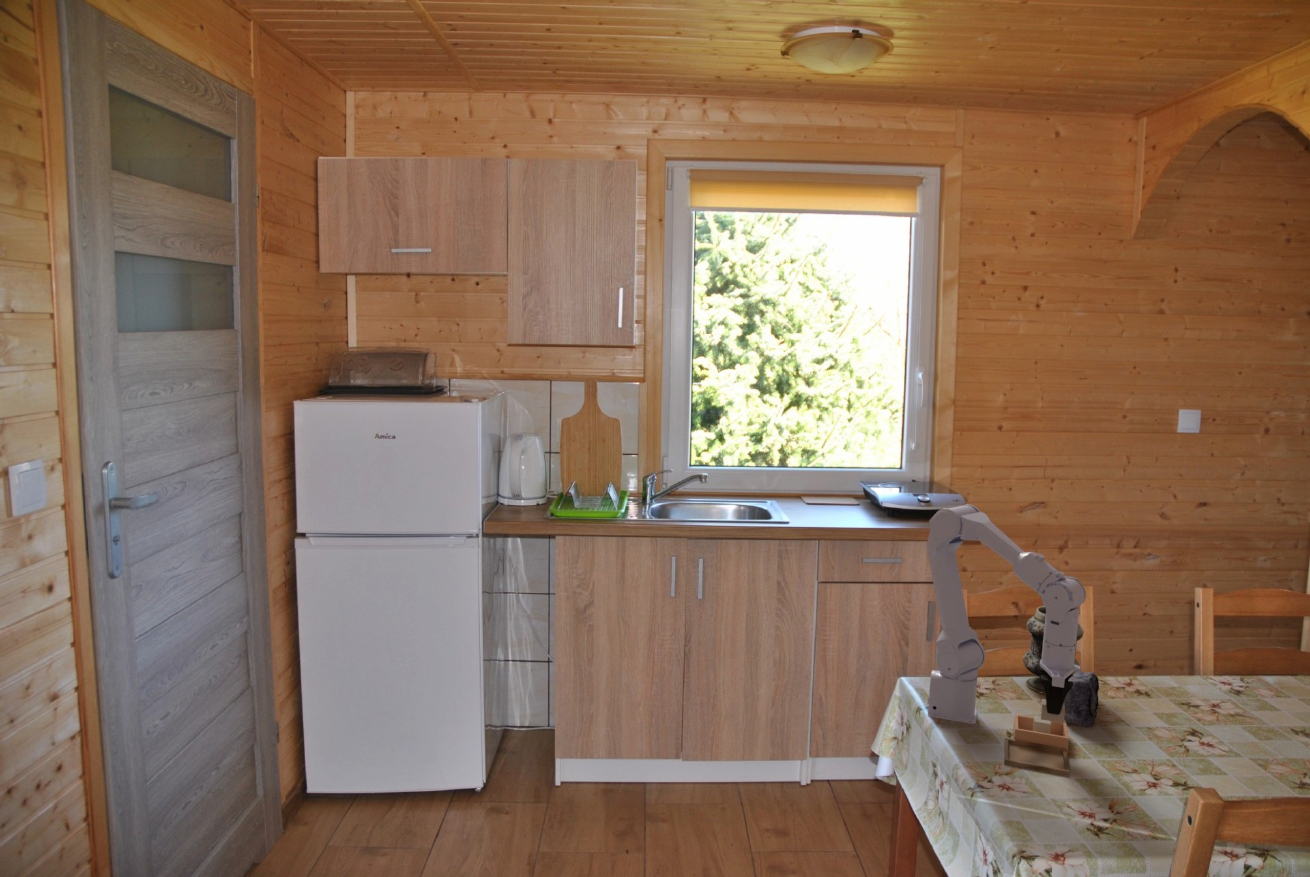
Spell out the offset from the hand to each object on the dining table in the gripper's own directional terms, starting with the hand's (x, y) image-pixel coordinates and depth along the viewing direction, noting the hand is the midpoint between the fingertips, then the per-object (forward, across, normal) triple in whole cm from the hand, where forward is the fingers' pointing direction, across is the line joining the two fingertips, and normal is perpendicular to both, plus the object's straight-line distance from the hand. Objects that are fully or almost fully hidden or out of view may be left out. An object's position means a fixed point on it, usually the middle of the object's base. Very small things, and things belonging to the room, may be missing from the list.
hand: (1053, 709), depth 176 cm
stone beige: (+2, 0, 0) cm, 2 cm away
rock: (+9, +18, -6) cm, 21 cm away
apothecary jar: (+9, +35, -1) cm, 36 cm away
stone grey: (+6, +4, +3) cm, 7 cm away
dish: (+8, +4, +2) cm, 9 cm away
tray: (+8, -5, +2) cm, 10 cm away
